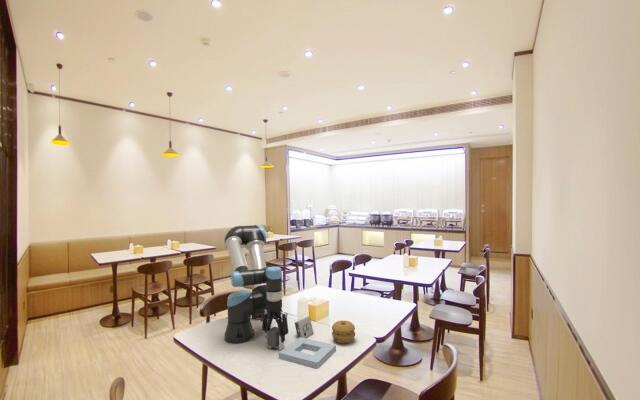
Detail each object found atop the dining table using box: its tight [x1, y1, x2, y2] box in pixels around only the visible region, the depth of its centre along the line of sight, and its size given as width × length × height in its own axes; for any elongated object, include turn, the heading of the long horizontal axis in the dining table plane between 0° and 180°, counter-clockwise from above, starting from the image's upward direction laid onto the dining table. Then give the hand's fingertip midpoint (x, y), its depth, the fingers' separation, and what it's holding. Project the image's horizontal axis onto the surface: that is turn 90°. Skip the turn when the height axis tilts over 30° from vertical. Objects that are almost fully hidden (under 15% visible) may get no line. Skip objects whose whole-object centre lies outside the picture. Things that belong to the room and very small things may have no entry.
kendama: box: [250, 314, 269, 321], centre depth 190 cm, size 6×10×20 cm
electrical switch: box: [294, 316, 314, 339], centre depth 162 cm, size 9×5×9 cm, turn 141°
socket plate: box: [278, 337, 337, 369], centre depth 142 cm, size 20×18×2 cm
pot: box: [331, 320, 356, 344], centre depth 155 cm, size 12×12×10 cm
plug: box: [266, 326, 280, 349], centre depth 150 cm, size 5×6×8 cm
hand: (275, 346), depth 149 cm, fingers open, 7 cm apart
